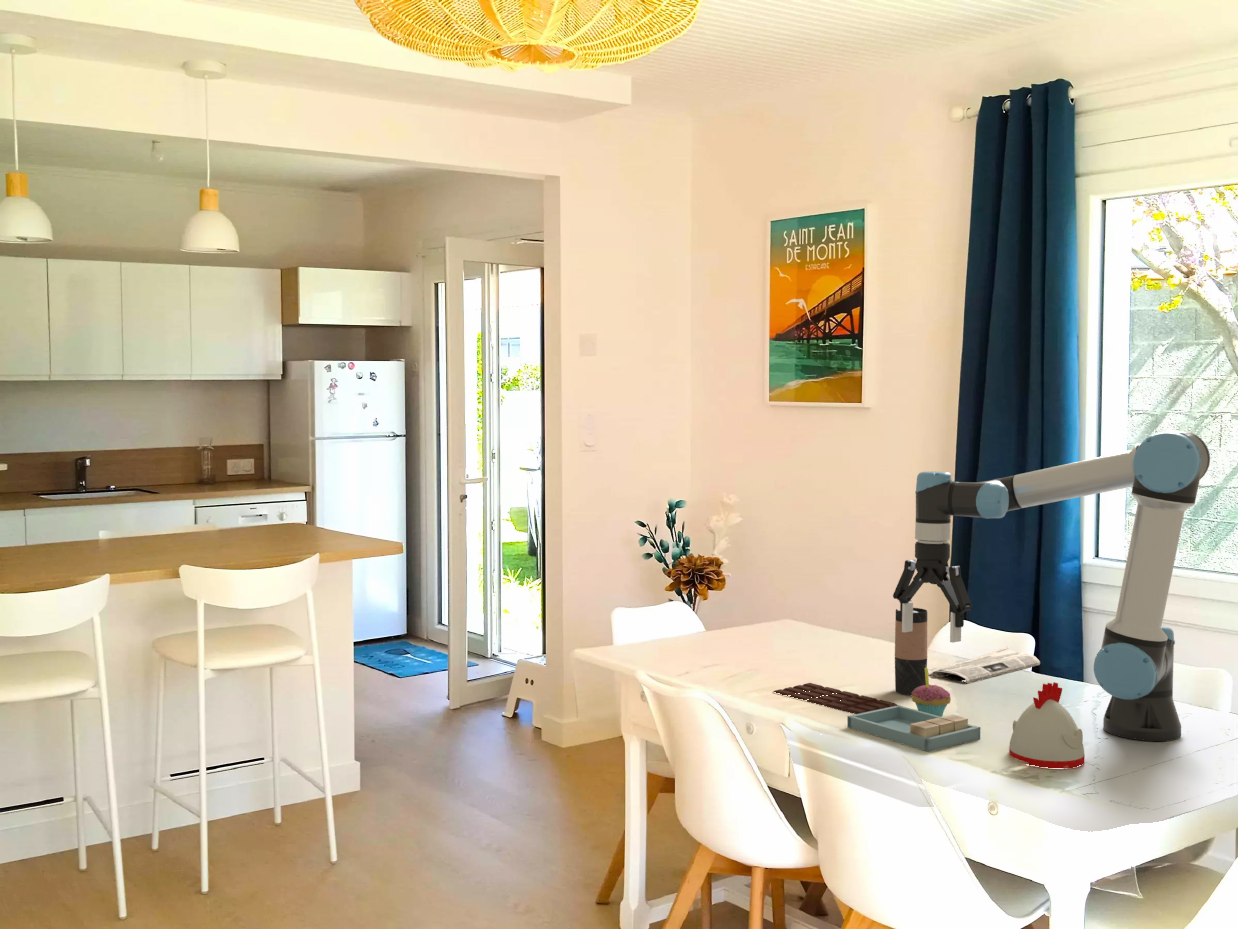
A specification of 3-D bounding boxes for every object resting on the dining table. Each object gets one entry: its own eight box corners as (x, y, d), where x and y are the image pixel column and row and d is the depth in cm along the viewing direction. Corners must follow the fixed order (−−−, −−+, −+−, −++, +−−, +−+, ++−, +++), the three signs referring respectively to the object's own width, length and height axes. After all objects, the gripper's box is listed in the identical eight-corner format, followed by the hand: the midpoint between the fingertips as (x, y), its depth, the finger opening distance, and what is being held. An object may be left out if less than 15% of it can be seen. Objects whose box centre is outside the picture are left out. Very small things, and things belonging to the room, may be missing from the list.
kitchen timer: (1098, 761, 231) (1100, 685, 231) (1056, 774, 223) (1057, 695, 223) (1037, 745, 243) (1038, 672, 242) (994, 756, 235) (995, 681, 234)
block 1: (938, 745, 240) (938, 725, 240) (925, 748, 238) (925, 728, 238) (923, 740, 244) (923, 721, 243) (910, 743, 241) (910, 724, 241)
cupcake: (935, 724, 258) (936, 669, 258) (902, 716, 265) (903, 663, 264) (957, 717, 264) (958, 664, 263) (925, 710, 270) (926, 657, 270)
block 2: (953, 741, 243) (953, 722, 243) (940, 744, 241) (940, 725, 240) (937, 736, 246) (938, 717, 246) (924, 740, 244) (925, 720, 244)
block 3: (967, 737, 246) (967, 718, 245) (954, 740, 243) (955, 721, 243) (952, 733, 249) (952, 714, 249) (939, 736, 247) (939, 717, 246)
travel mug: (927, 696, 283) (928, 613, 282) (894, 695, 284) (895, 612, 283) (926, 689, 290) (927, 608, 289) (893, 687, 292) (894, 607, 291)
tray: (980, 741, 245) (980, 727, 245) (928, 754, 236) (928, 739, 236) (898, 718, 263) (898, 705, 263) (847, 730, 254) (847, 716, 254)
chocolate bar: (771, 694, 287) (771, 690, 287) (809, 686, 295) (809, 682, 295) (859, 717, 266) (860, 712, 266) (897, 707, 274) (897, 703, 274)
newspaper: (966, 686, 296) (966, 672, 296) (924, 677, 305) (924, 663, 305) (1042, 666, 318) (1043, 652, 318) (1001, 658, 328) (1001, 645, 328)
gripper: (990, 546, 254) (988, 644, 256) (900, 535, 275) (899, 626, 276) (967, 548, 250) (965, 648, 251) (878, 537, 271) (876, 629, 272)
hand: (930, 636), depth 264 cm, fingers open, 13 cm apart
